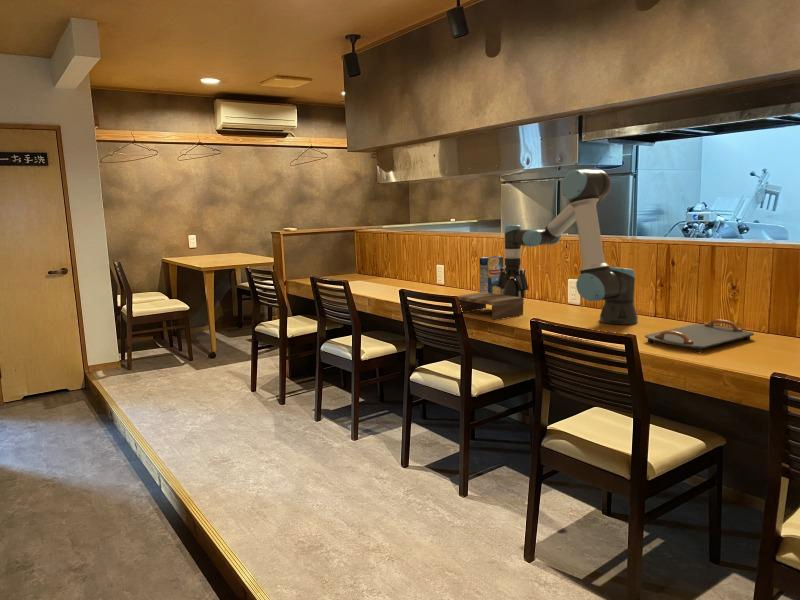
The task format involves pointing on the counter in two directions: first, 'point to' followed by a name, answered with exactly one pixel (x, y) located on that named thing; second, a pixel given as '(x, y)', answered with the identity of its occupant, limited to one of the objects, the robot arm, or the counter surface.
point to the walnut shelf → (493, 304)
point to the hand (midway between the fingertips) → (512, 303)
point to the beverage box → (490, 274)
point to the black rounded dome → (511, 288)
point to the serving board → (700, 335)
